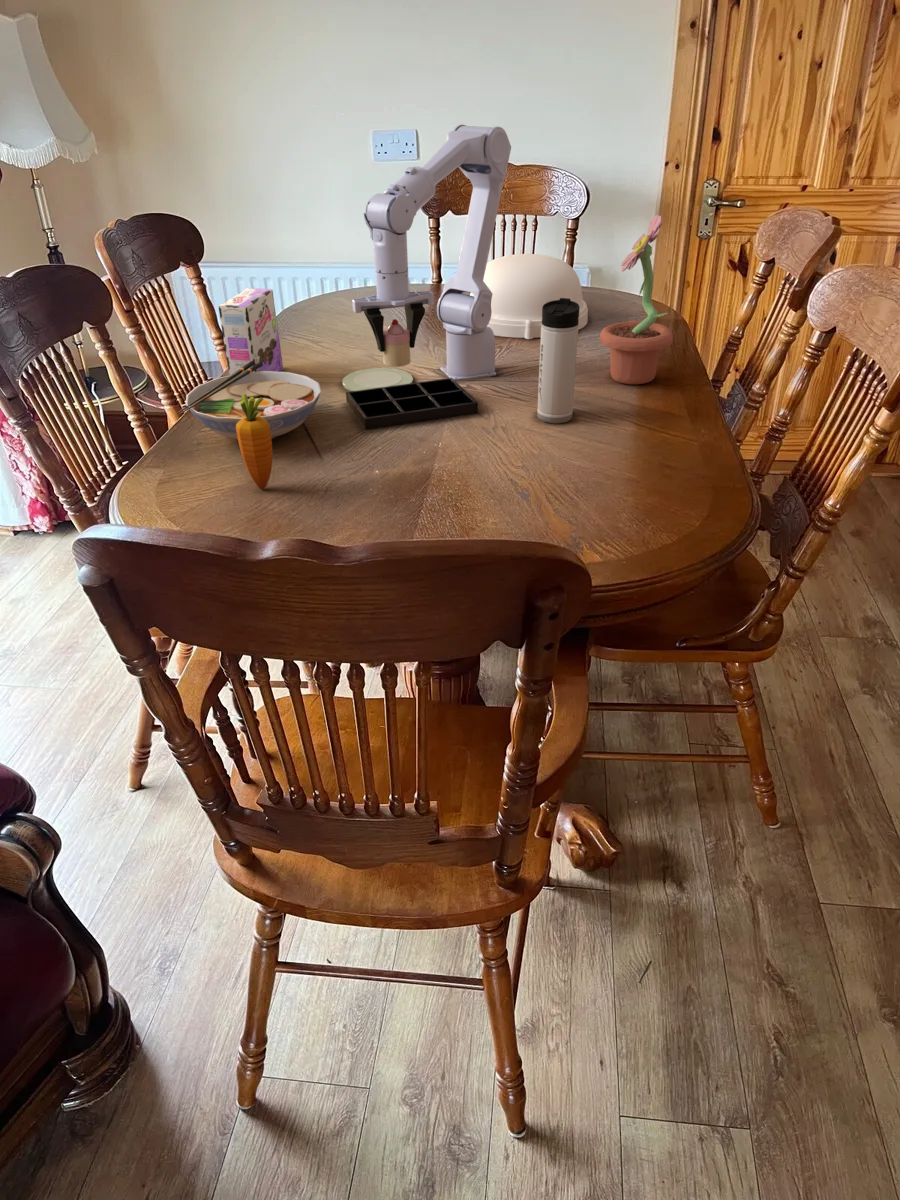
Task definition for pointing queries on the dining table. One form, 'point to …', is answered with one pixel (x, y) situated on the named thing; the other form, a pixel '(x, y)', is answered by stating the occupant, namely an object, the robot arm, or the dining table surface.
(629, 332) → the decorative flower
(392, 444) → the dining table surface
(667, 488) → the dining table surface
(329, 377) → the dining table surface
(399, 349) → the cupcake
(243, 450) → the carrot
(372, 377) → the plate
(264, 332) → the candy box
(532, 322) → the dome cover
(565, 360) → the travel mug
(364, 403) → the black compartment tray
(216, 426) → the ramen bowl
